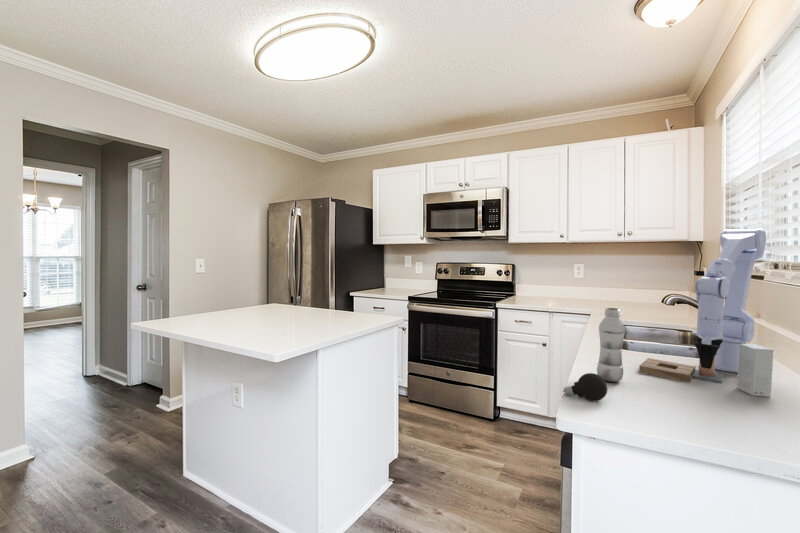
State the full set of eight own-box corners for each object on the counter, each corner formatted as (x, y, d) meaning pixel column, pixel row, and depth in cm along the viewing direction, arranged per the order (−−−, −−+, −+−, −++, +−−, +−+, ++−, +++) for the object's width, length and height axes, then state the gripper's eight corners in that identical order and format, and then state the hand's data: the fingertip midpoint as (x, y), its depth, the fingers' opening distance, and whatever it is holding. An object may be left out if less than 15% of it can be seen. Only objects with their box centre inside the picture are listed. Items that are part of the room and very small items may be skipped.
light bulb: (558, 374, 98) (600, 365, 93) (567, 396, 98) (609, 389, 94) (558, 387, 92) (602, 379, 87) (567, 411, 92) (612, 404, 88)
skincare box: (771, 397, 96) (774, 350, 95) (751, 395, 97) (754, 348, 96) (754, 389, 102) (757, 344, 101) (736, 387, 103) (738, 343, 102)
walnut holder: (647, 364, 123) (648, 357, 123) (694, 372, 115) (695, 366, 115) (639, 372, 114) (639, 365, 114) (689, 382, 106) (689, 375, 106)
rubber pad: (693, 371, 117) (693, 369, 117) (723, 376, 112) (723, 374, 112) (689, 377, 111) (690, 375, 111) (721, 383, 106) (721, 381, 106)
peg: (699, 371, 114) (700, 351, 114) (714, 374, 112) (715, 354, 111) (698, 374, 111) (699, 354, 111) (714, 377, 109) (715, 356, 109)
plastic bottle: (625, 380, 106) (629, 308, 106) (619, 386, 102) (622, 311, 101) (600, 375, 111) (603, 306, 110) (593, 380, 106) (596, 308, 105)
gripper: (695, 314, 119) (693, 357, 119) (689, 319, 108) (686, 367, 109) (725, 317, 114) (723, 362, 114) (721, 323, 103) (719, 373, 104)
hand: (707, 365), depth 111 cm, fingers open, 7 cm apart
